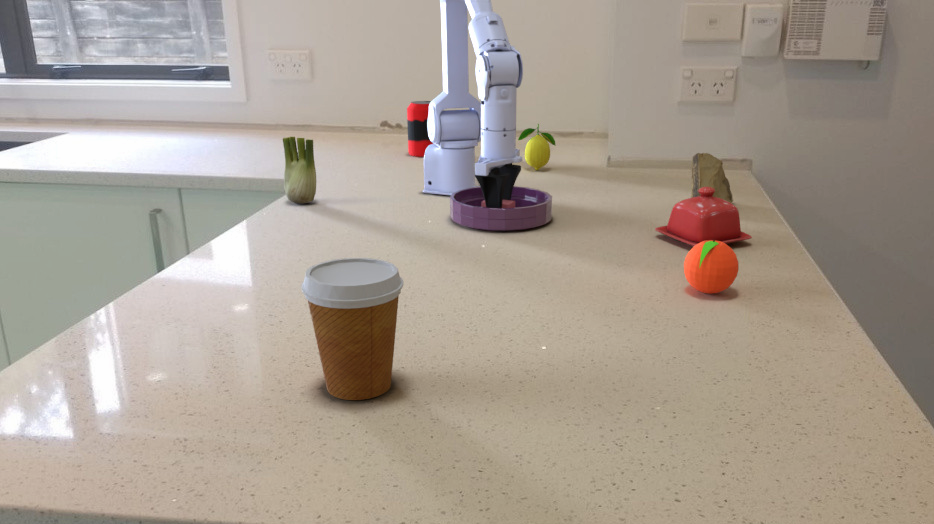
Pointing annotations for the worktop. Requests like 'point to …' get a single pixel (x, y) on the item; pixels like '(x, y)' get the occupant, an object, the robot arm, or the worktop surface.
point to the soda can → (418, 128)
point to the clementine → (711, 266)
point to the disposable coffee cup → (354, 323)
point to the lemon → (537, 148)
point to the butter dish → (704, 220)
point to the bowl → (501, 210)
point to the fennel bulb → (299, 170)
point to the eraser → (503, 204)
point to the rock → (709, 176)
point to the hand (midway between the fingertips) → (497, 210)
